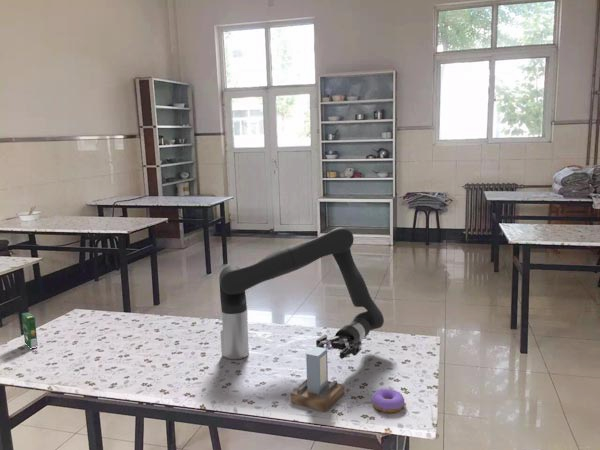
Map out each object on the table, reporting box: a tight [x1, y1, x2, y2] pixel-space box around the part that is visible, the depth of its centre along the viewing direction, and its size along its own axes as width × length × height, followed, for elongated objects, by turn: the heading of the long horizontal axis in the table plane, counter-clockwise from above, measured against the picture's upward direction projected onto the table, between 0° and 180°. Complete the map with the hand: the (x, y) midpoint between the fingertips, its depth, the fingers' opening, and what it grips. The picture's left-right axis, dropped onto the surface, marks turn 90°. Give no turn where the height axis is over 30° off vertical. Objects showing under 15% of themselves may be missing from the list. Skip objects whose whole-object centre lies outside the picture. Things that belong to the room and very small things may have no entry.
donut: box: [371, 388, 405, 413], centre depth 148 cm, size 10×9×5 cm
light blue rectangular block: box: [305, 346, 329, 394], centre depth 152 cm, size 4×6×12 cm
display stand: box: [290, 379, 345, 413], centre depth 153 cm, size 12×12×4 cm
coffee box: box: [21, 312, 39, 349], centre depth 200 cm, size 8×3×13 cm, turn 44°
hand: (328, 353), depth 158 cm, fingers open, 8 cm apart
